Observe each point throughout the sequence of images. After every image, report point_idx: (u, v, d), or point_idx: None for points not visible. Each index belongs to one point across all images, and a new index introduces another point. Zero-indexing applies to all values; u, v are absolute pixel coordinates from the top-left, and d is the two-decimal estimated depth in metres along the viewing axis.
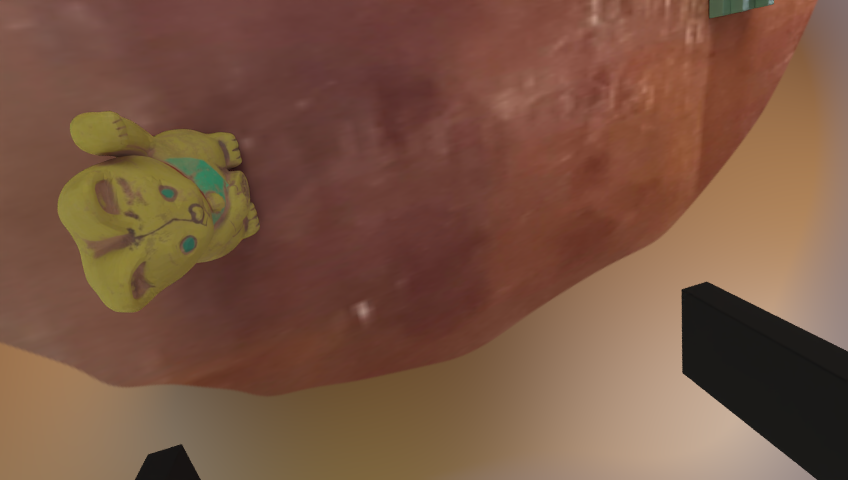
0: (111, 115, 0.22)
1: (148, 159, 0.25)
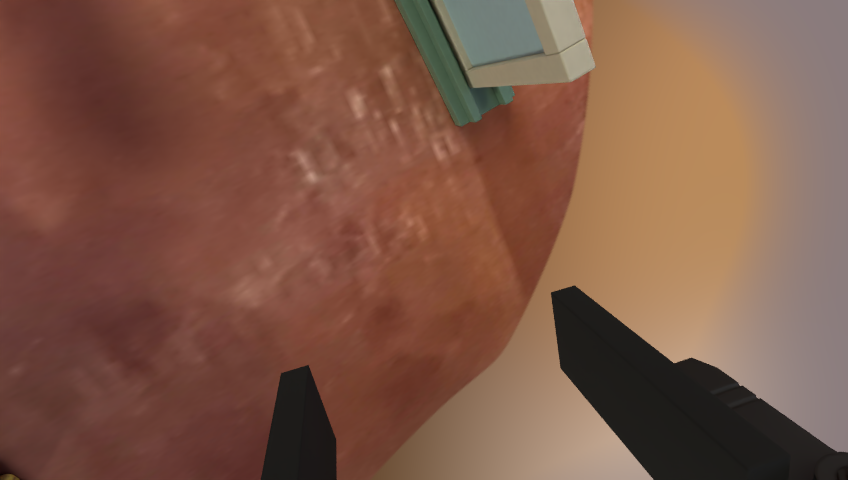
0: None
1: None
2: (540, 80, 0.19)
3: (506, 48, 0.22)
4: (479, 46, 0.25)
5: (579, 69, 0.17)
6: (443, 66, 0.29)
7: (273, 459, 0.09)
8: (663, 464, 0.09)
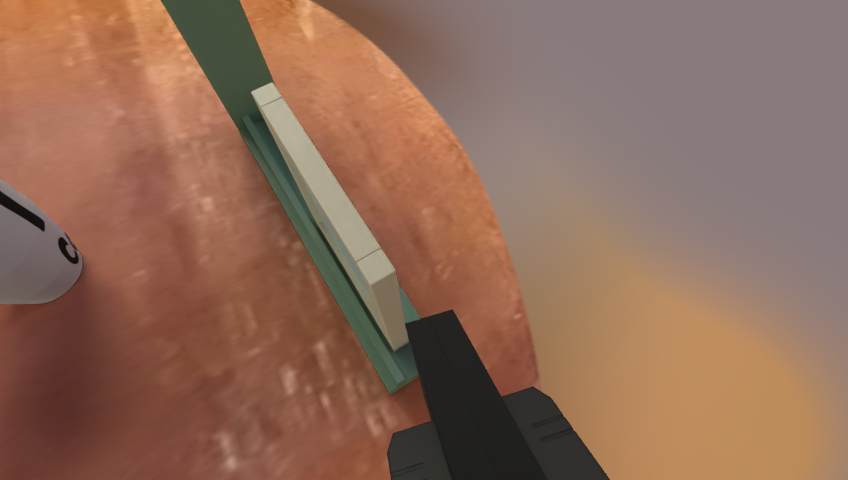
0: None
1: None
2: (374, 301, 0.19)
3: None
4: None
5: (378, 273, 0.17)
6: (367, 334, 0.30)
7: (432, 386, 0.10)
8: None
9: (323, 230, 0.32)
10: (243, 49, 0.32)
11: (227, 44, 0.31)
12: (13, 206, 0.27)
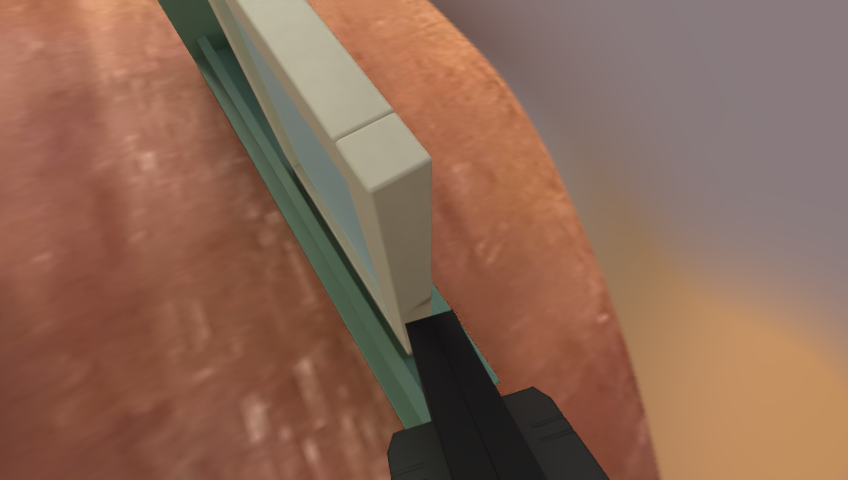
0: None
1: None
2: (379, 250, 0.09)
3: None
4: None
5: (388, 165, 0.07)
6: (376, 347, 0.19)
7: (433, 386, 0.10)
8: None
9: (301, 176, 0.21)
10: None
11: None
12: None
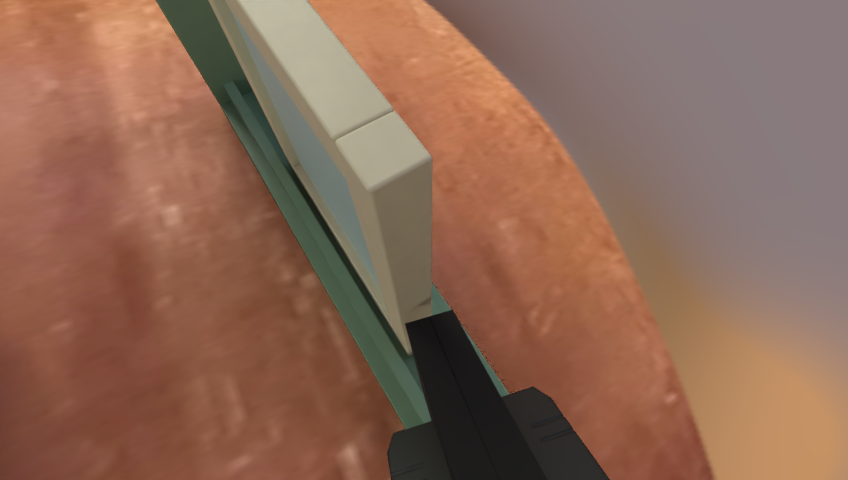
0: None
1: None
2: (379, 249, 0.09)
3: None
4: None
5: (388, 164, 0.07)
6: None
7: (433, 386, 0.10)
8: None
9: (301, 176, 0.21)
10: None
11: None
12: None
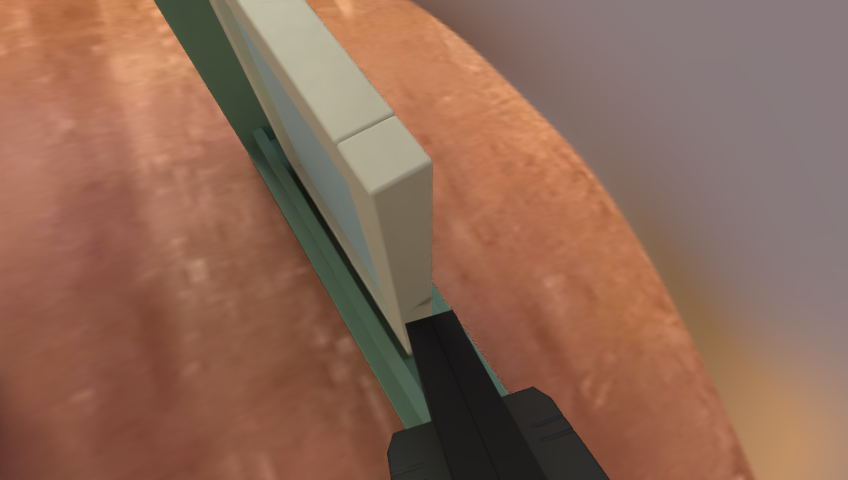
0: None
1: None
2: (380, 251, 0.09)
3: None
4: None
5: (389, 168, 0.07)
6: None
7: (432, 386, 0.10)
8: None
9: (302, 177, 0.22)
10: None
11: None
12: None
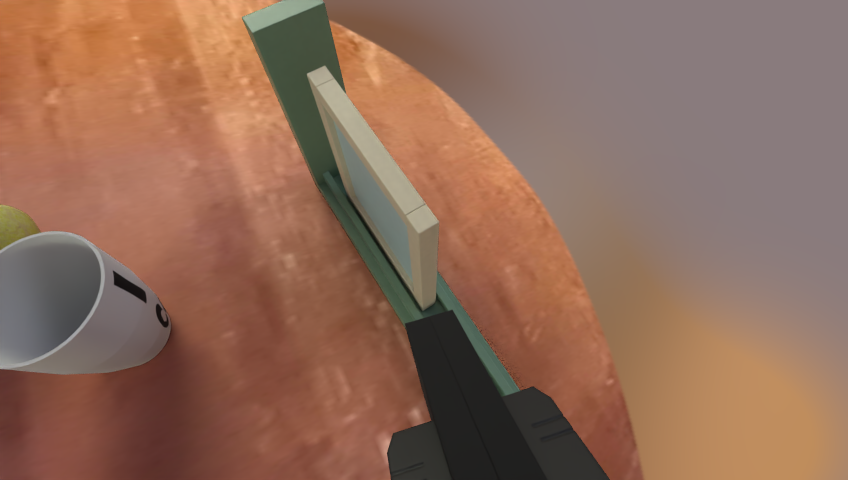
0: None
1: None
2: (417, 251, 0.23)
3: None
4: (408, 264, 0.30)
5: (424, 224, 0.21)
6: None
7: (432, 386, 0.10)
8: None
9: (356, 203, 0.35)
10: None
11: None
12: (124, 284, 0.27)
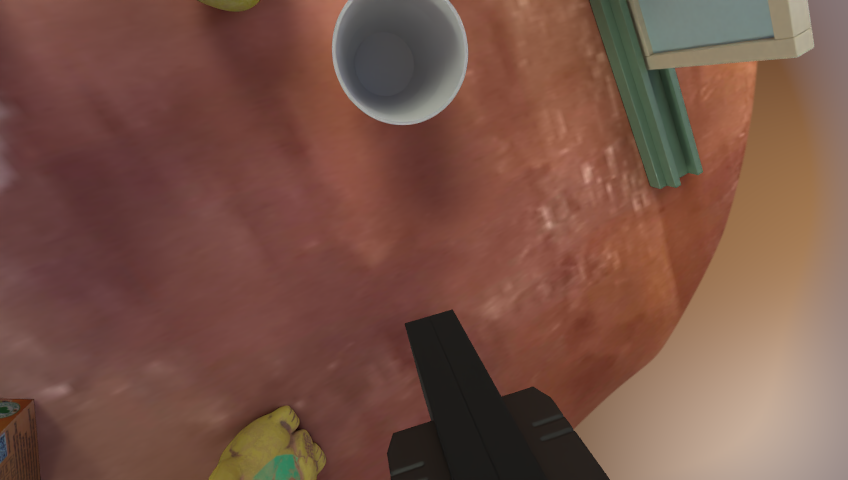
0: None
1: None
2: (758, 58, 0.27)
3: (715, 36, 0.30)
4: (675, 36, 0.33)
5: (804, 48, 0.25)
6: (655, 148, 0.40)
7: (432, 386, 0.10)
8: None
9: None
10: None
11: None
12: None
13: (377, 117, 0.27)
